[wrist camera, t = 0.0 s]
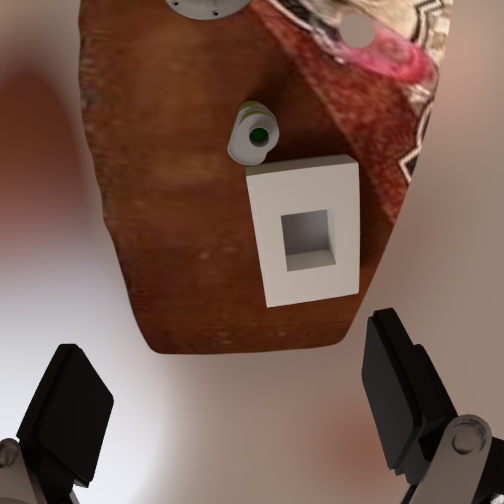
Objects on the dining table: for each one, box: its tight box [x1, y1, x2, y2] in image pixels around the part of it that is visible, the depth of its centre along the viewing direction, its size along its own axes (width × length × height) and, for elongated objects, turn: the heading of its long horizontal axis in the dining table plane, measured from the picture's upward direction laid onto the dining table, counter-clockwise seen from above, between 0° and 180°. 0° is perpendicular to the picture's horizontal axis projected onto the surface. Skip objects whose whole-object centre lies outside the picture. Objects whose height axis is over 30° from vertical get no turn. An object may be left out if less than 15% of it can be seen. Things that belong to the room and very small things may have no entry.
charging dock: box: [246, 154, 360, 307], centre depth 45 cm, size 20×14×5 cm
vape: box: [228, 101, 279, 165], centre depth 32 cm, size 4×6×20 cm, turn 162°
